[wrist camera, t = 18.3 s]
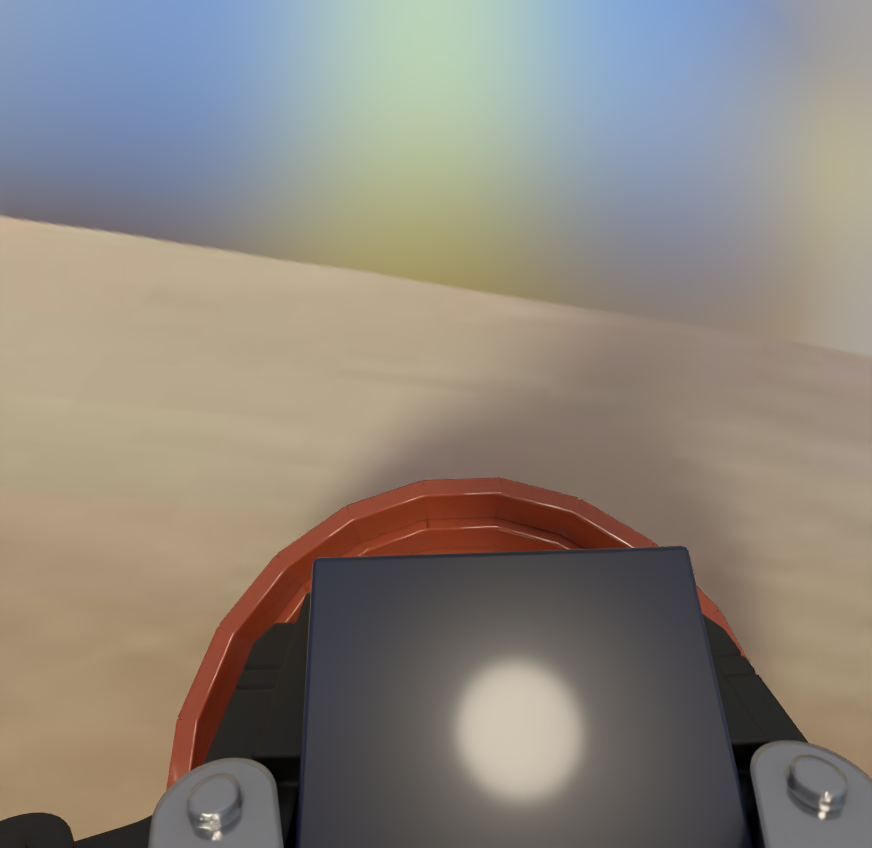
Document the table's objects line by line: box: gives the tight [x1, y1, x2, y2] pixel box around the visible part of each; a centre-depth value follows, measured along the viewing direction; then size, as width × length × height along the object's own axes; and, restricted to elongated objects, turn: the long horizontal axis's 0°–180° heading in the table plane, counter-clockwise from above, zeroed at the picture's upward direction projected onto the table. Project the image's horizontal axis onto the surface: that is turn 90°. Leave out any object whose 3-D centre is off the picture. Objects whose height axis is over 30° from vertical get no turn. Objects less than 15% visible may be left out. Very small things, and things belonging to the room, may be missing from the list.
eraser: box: [295, 546, 754, 848], centre depth 10 cm, size 4×4×8 cm
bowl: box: [166, 478, 756, 791], centre depth 19 cm, size 16×16×5 cm
